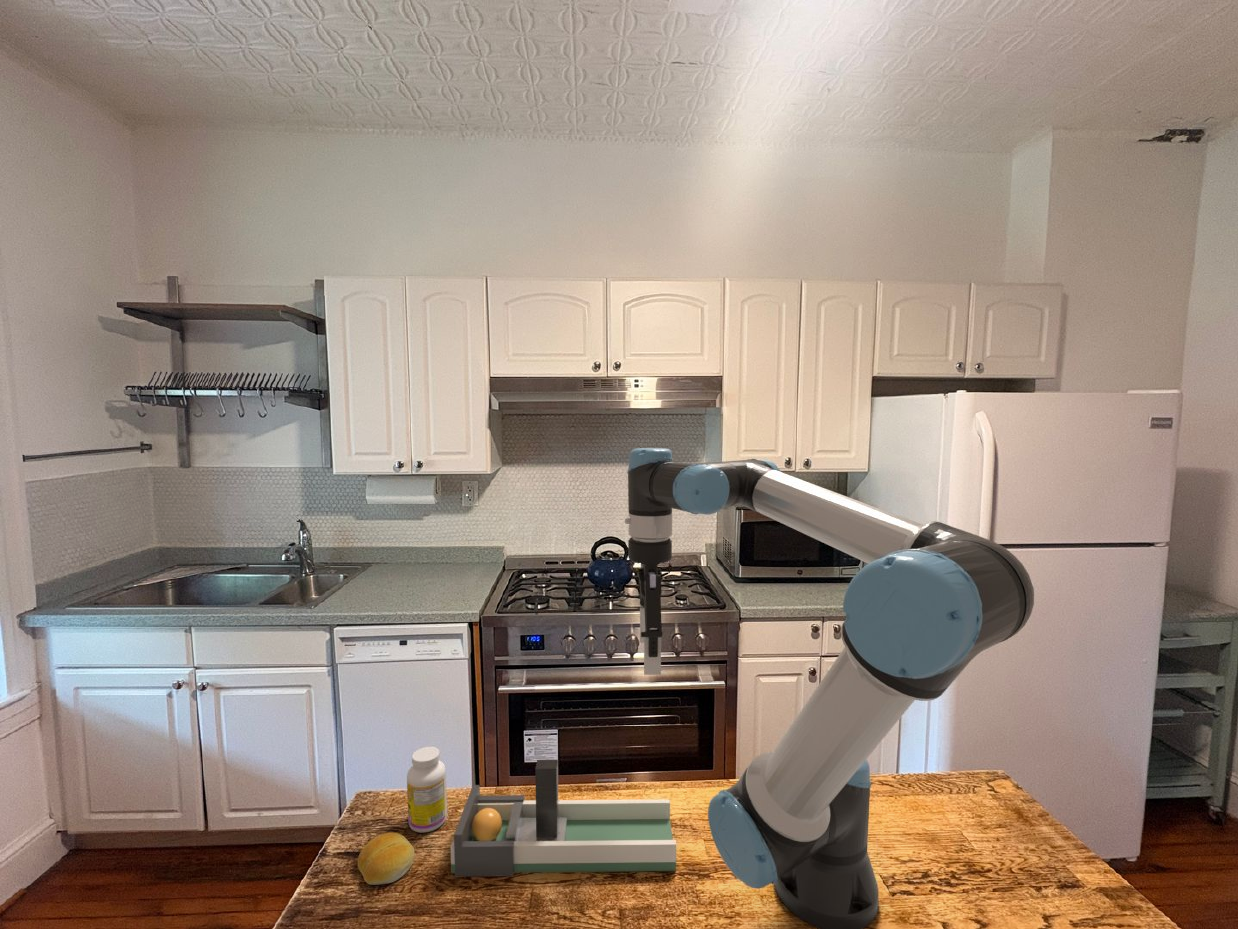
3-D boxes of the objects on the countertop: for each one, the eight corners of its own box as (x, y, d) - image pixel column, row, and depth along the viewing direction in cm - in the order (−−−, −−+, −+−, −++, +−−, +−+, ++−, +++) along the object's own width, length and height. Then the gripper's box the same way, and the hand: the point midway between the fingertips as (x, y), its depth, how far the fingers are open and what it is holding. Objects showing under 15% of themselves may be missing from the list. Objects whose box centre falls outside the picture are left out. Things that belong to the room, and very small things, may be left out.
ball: (494, 841, 100) (512, 820, 99) (479, 855, 95) (498, 832, 95) (476, 818, 101) (493, 796, 101) (460, 830, 97) (478, 808, 96)
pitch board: (669, 823, 104) (669, 799, 104) (676, 871, 93) (676, 844, 93) (468, 825, 104) (467, 801, 103) (451, 873, 93) (450, 846, 92)
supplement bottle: (415, 809, 108) (413, 743, 107) (451, 808, 108) (449, 742, 107) (403, 835, 101) (400, 765, 100) (441, 834, 101) (439, 764, 100)
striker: (567, 821, 102) (566, 750, 101) (563, 855, 94) (562, 779, 93) (514, 821, 102) (513, 750, 101) (506, 855, 94) (505, 779, 93)
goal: (524, 821, 104) (524, 784, 104) (513, 876, 92) (512, 834, 92) (473, 822, 104) (472, 785, 104) (455, 876, 92) (454, 835, 91)
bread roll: (371, 897, 88) (370, 872, 88) (352, 863, 95) (351, 840, 95) (423, 869, 94) (423, 846, 94) (402, 839, 101) (402, 817, 100)
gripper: (626, 524, 112) (626, 630, 114) (630, 554, 88) (630, 690, 89) (664, 524, 113) (664, 630, 114) (680, 554, 88) (679, 689, 89)
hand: (649, 657), depth 102 cm, fingers open, 13 cm apart
